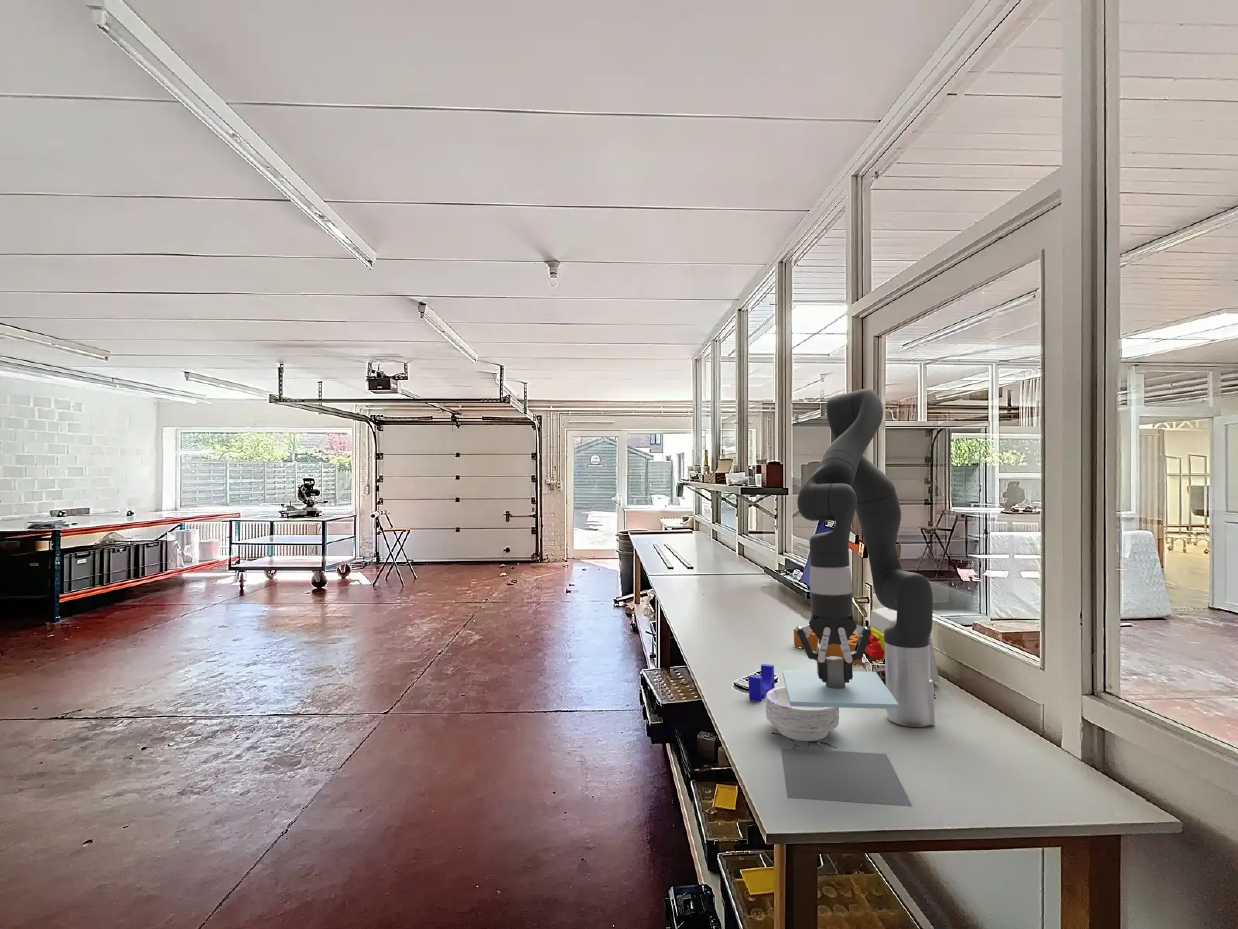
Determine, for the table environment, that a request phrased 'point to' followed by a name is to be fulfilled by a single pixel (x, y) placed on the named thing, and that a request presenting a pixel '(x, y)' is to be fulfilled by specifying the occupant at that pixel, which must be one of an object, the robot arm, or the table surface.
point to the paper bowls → (799, 717)
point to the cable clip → (761, 683)
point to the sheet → (837, 688)
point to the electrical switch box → (878, 624)
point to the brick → (832, 648)
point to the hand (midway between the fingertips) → (835, 680)
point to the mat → (842, 777)
